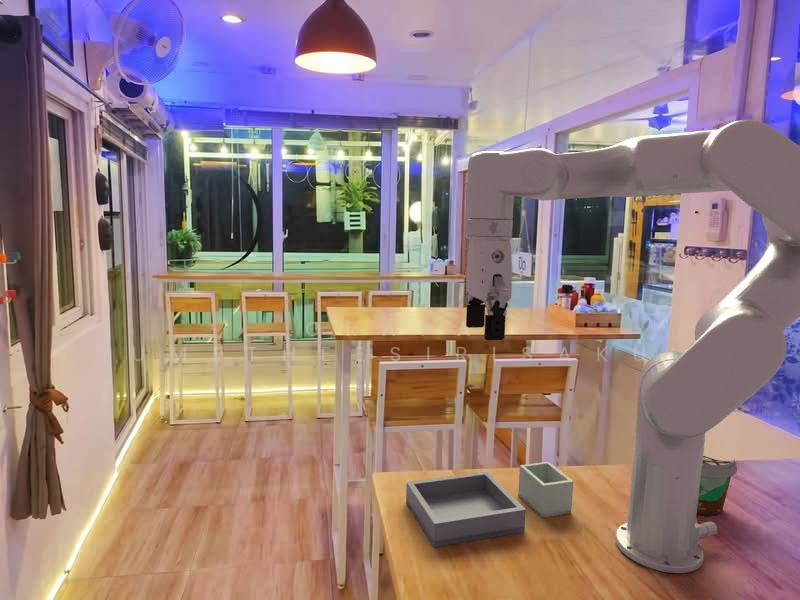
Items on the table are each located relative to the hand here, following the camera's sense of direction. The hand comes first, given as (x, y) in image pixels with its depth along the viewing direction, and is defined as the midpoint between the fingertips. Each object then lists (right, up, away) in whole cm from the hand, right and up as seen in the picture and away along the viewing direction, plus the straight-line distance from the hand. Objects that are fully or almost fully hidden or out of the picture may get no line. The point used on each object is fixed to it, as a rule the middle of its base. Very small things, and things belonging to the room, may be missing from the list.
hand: (484, 333), depth 93 cm
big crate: (-3, -32, +3) cm, 32 cm away
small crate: (+12, -31, +8) cm, 35 cm away
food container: (+39, -32, +7) cm, 51 cm away
